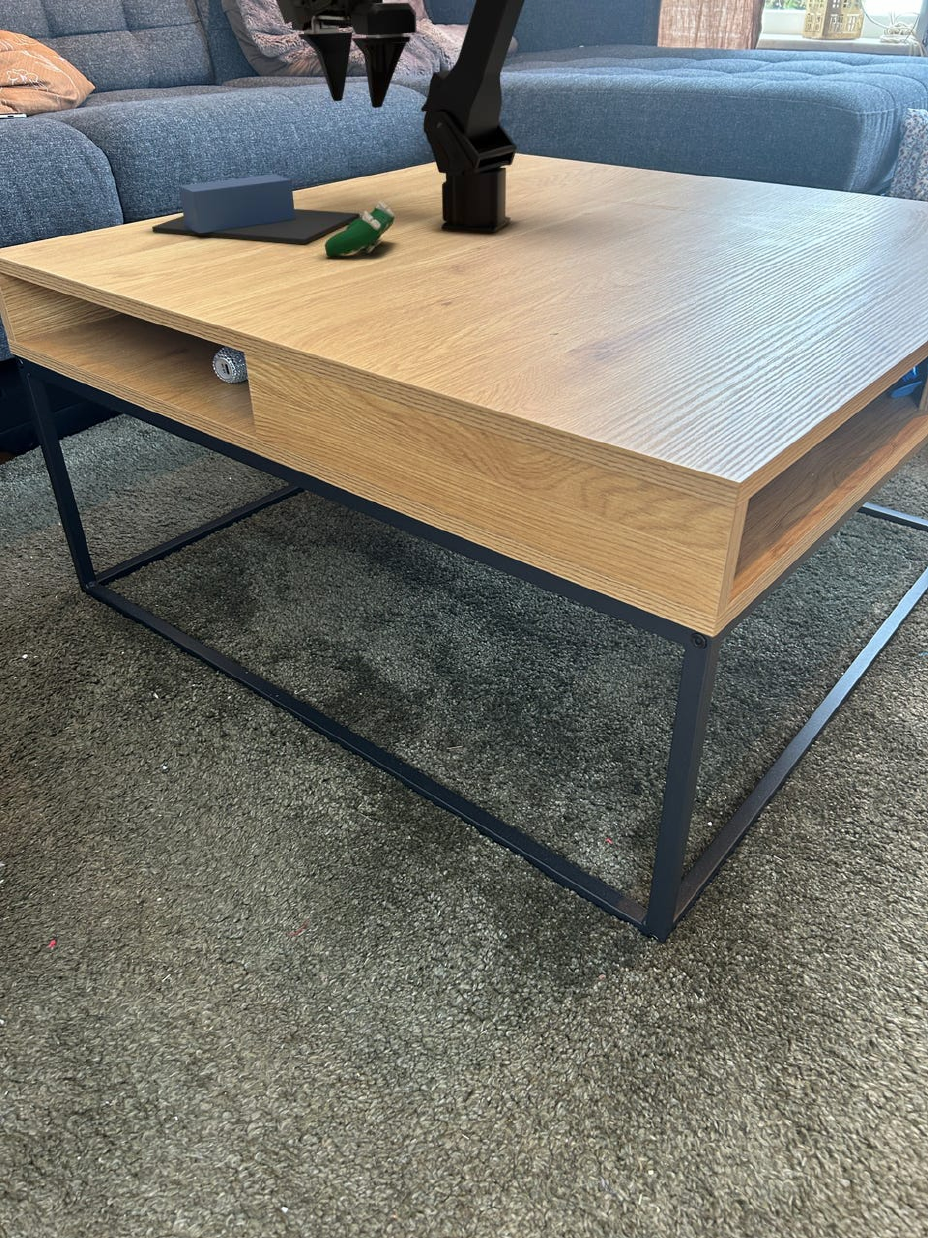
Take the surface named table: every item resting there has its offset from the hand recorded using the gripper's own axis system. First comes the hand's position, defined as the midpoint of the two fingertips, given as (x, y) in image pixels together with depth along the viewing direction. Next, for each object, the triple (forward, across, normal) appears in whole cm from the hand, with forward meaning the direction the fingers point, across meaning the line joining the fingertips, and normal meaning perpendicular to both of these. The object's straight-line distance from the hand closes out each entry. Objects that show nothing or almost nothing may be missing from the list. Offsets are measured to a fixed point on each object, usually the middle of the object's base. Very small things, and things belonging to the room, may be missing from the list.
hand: (356, 103), depth 113 cm
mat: (+12, -1, -14) cm, 18 cm away
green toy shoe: (+12, +17, -10) cm, 23 cm away
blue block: (+9, -1, -10) cm, 14 cm away
